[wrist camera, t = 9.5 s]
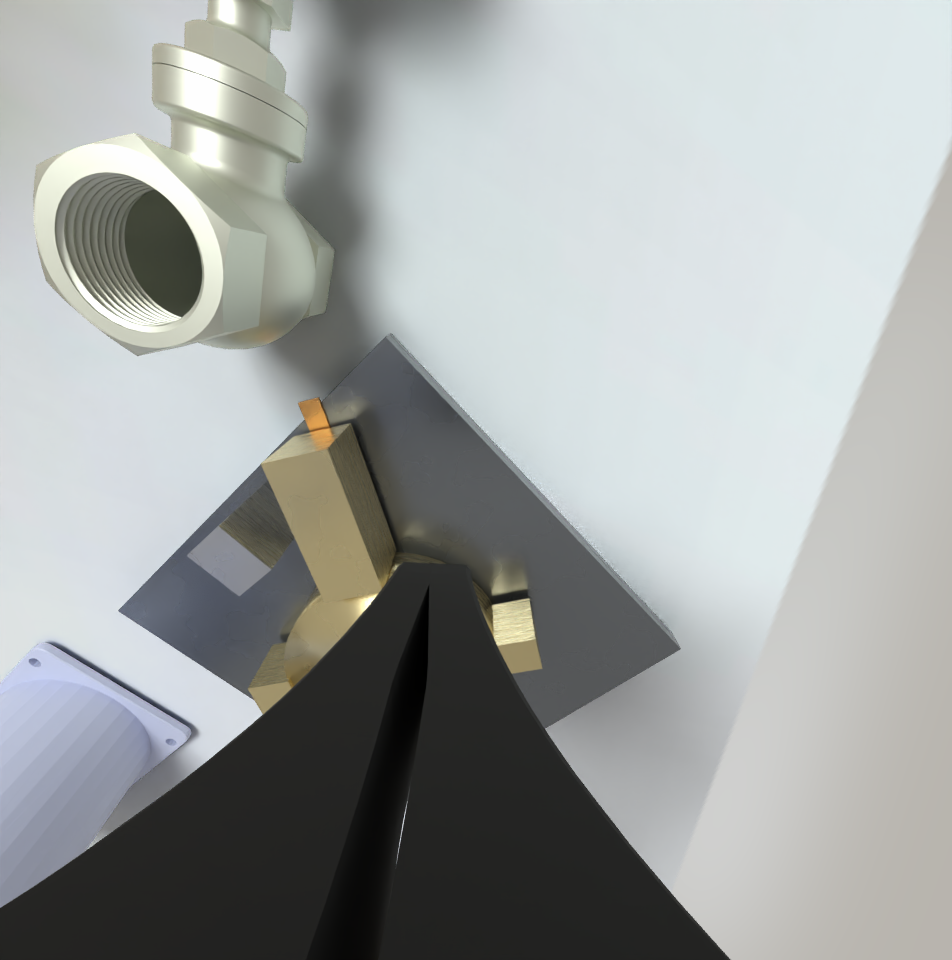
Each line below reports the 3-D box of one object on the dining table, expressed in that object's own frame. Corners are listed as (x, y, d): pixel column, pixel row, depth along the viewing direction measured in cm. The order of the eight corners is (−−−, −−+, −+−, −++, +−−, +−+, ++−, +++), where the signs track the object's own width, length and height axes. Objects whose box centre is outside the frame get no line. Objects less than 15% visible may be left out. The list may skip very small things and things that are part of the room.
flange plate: (416, 785, 24) (405, 874, 21) (125, 588, 19) (41, 660, 16) (671, 631, 20) (714, 711, 16) (380, 321, 15) (346, 334, 11)
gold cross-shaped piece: (554, 706, 20) (564, 764, 18) (325, 742, 21) (305, 801, 19) (481, 392, 14) (481, 414, 12) (174, 463, 15) (118, 496, 13)
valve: (369, 361, 15) (465, -133, 11) (298, 412, 9) (447, -669, 5) (170, 302, 15) (180, -253, 10) (-47, 316, 9) (-277, -1069, 4)
